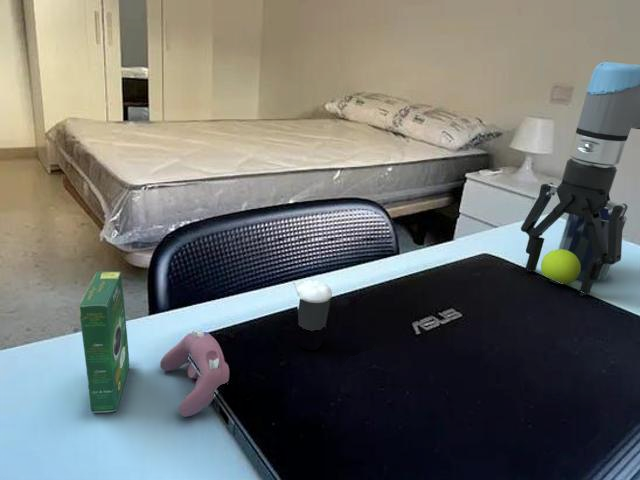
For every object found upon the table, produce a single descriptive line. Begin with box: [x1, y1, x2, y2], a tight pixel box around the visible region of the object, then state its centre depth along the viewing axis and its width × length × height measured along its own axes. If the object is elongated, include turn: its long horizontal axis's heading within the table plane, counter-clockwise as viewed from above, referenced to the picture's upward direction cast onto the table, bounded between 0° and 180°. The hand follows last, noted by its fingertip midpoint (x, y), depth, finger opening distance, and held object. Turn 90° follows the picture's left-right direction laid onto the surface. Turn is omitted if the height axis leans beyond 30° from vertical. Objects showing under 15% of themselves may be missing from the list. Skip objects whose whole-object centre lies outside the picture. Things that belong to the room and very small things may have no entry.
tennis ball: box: [540, 248, 580, 286], centre depth 90 cm, size 6×6×6 cm
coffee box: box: [78, 270, 130, 414], centre depth 54 cm, size 8×3×13 cm, turn 10°
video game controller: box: [159, 330, 230, 418], centre depth 57 cm, size 10×5×7 cm, turn 30°
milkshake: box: [291, 279, 333, 331], centre depth 65 cm, size 5×5×10 cm
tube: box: [557, 207, 628, 283], centre depth 95 cm, size 9×9×12 cm
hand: (556, 281), depth 91 cm, fingers open, 9 cm apart
